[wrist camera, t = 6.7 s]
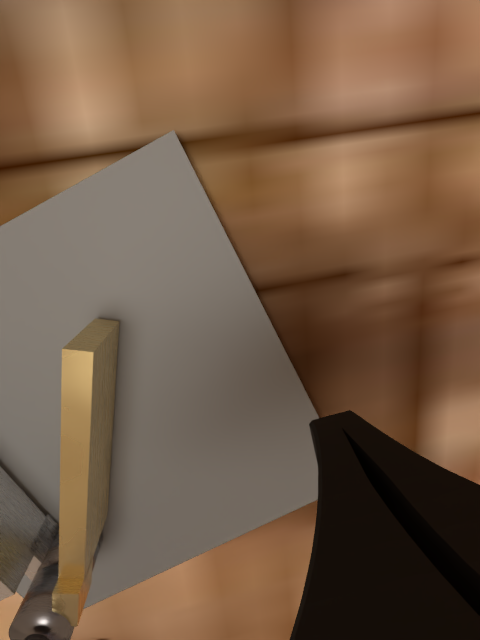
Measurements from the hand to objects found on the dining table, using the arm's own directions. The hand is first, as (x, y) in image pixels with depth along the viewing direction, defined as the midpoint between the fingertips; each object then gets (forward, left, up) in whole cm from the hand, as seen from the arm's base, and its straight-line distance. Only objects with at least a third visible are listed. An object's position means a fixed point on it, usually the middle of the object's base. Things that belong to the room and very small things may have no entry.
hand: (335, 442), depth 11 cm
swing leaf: (+1, +11, -6) cm, 12 cm away
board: (+1, +10, -7) cm, 12 cm away
